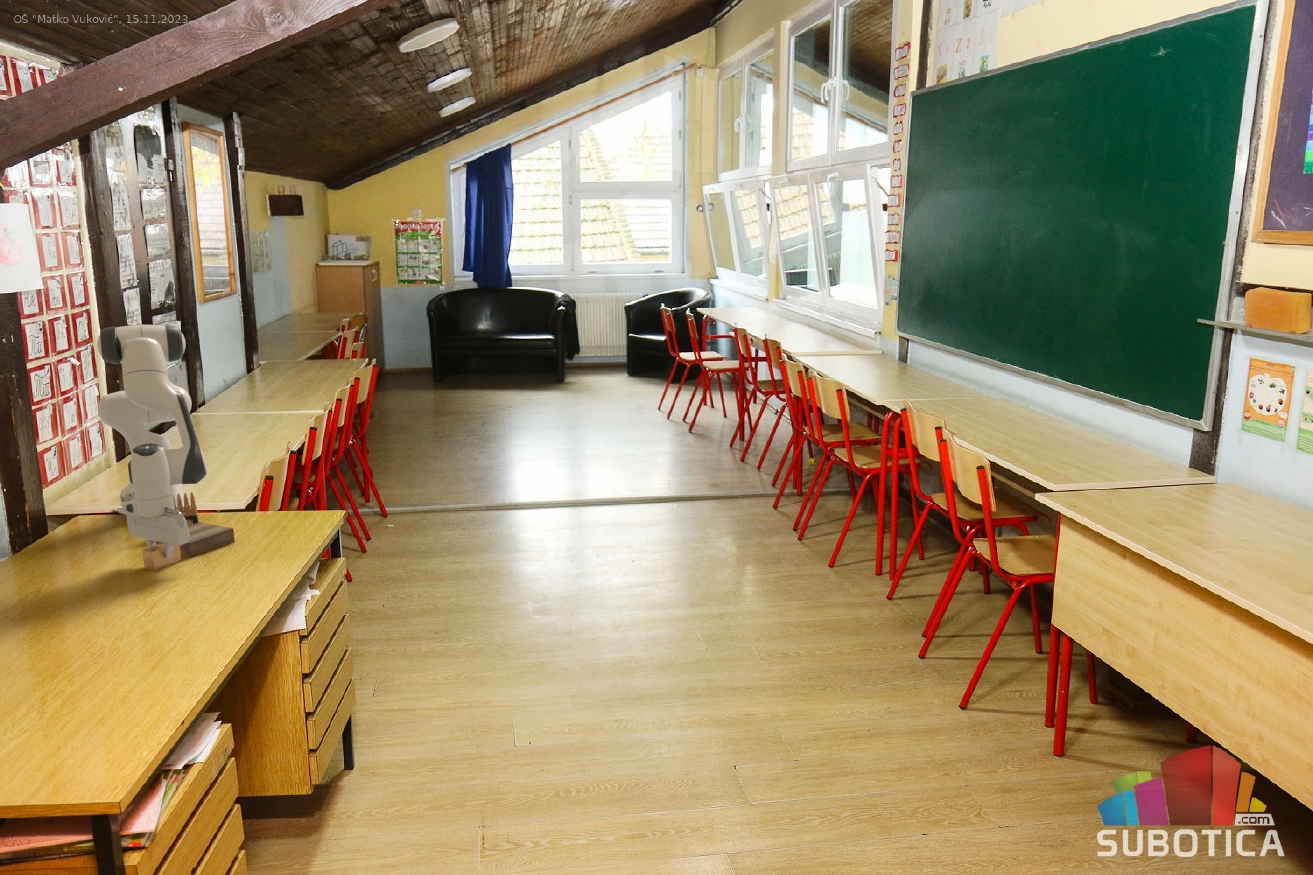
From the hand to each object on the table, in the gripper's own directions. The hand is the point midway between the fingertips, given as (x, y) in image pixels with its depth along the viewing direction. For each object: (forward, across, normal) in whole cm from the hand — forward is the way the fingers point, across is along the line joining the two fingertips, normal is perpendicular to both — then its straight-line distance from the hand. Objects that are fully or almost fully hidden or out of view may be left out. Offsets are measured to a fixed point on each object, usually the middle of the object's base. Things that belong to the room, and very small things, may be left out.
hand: (162, 555), depth 256 cm
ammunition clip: (+3, +20, -20) cm, 28 cm away
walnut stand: (+2, +5, -14) cm, 15 cm away
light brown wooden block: (+2, 0, 0) cm, 2 cm away
